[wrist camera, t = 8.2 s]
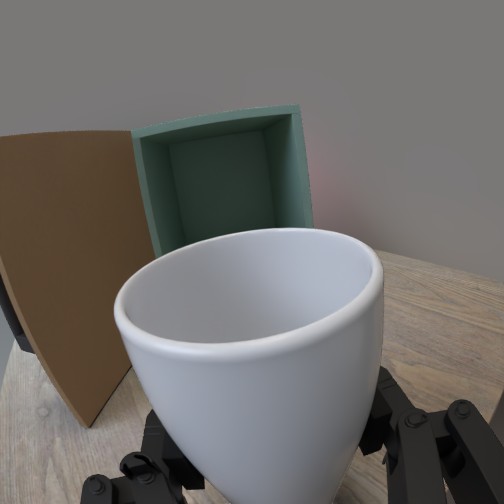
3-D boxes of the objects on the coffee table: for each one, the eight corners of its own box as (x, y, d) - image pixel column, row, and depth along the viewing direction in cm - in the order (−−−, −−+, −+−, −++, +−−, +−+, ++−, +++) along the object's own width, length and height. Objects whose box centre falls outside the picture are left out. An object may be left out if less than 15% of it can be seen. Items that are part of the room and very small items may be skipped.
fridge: (317, 282, 41) (299, 104, 33) (168, 308, 40) (129, 131, 32) (281, 237, 64) (267, 124, 56) (184, 254, 62) (162, 141, 54)
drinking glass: (369, 508, 10) (446, 262, 5) (260, 565, 8) (108, 411, 3) (307, 442, 16) (289, 215, 11) (213, 483, 14) (111, 264, 9)
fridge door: (46, 412, 20) (-49, 166, 12) (133, 310, 40) (92, 143, 32) (88, 428, 19) (-21, 139, 11) (170, 310, 39) (131, 130, 31)
